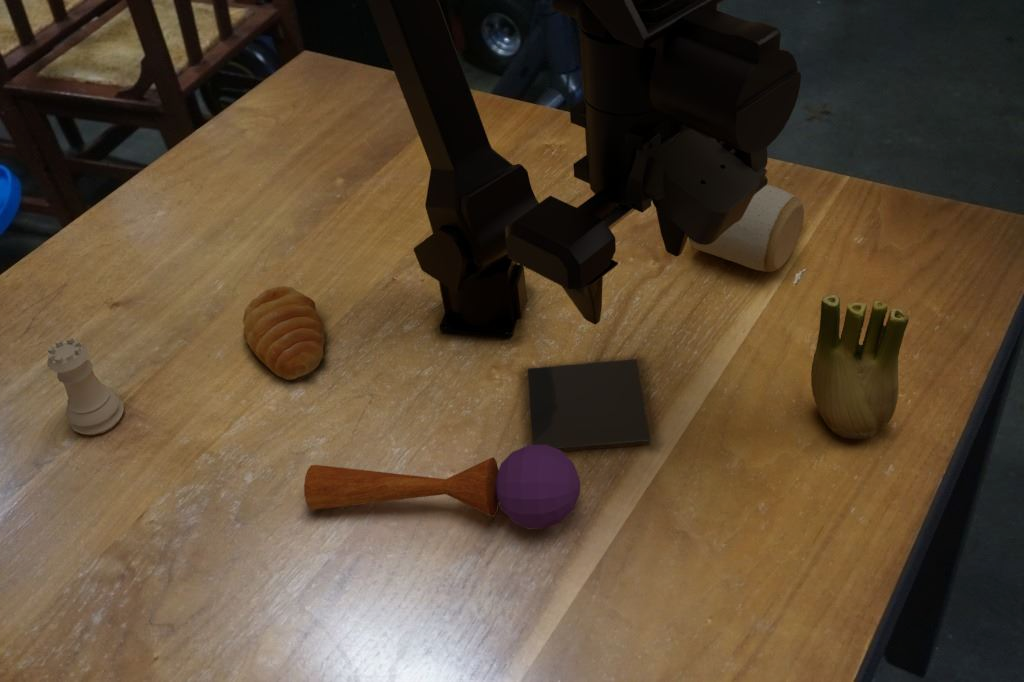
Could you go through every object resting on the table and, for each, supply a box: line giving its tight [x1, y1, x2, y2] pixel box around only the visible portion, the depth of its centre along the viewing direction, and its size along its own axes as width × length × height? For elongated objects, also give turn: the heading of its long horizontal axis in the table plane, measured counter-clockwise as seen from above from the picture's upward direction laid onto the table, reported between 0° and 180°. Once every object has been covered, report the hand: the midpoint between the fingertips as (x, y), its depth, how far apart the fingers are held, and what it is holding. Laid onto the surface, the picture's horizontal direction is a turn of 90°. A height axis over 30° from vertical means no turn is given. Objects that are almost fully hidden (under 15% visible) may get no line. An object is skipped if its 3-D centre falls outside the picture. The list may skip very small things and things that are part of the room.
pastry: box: [242, 285, 326, 381], centre depth 95 cm, size 9×7×4 cm
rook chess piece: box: [46, 337, 125, 436], centre depth 89 cm, size 4×4×8 cm
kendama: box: [303, 444, 581, 530], centre depth 80 cm, size 6×6×20 cm
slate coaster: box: [527, 358, 651, 453], centre depth 87 cm, size 9×9×1 cm
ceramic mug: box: [688, 183, 805, 273], centre depth 98 cm, size 11×8×8 cm
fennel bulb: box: [810, 294, 910, 440], centre depth 80 cm, size 6×5×12 cm
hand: (634, 286), depth 78 cm, fingers open, 9 cm apart
